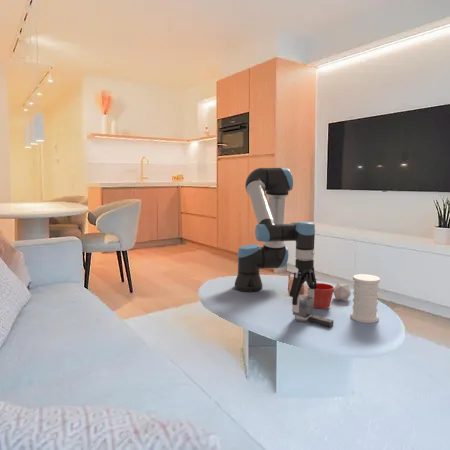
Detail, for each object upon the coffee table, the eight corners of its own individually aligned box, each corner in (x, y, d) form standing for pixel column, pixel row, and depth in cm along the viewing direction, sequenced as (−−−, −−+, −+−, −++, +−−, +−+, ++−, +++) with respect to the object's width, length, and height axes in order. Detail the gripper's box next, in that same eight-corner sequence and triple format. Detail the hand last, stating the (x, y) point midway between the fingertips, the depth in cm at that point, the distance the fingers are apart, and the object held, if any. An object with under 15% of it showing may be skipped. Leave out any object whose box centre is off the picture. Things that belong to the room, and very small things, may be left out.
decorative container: (376, 325, 160) (378, 282, 157) (347, 319, 165) (349, 278, 163) (380, 315, 170) (382, 275, 167) (353, 311, 175) (355, 272, 173)
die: (342, 305, 185) (354, 289, 185) (327, 293, 189) (339, 278, 189) (344, 305, 192) (356, 290, 192) (330, 294, 196) (341, 279, 196)
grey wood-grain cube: (292, 314, 165) (293, 298, 164) (299, 310, 170) (300, 294, 169) (306, 317, 161) (306, 301, 160) (313, 313, 166) (313, 297, 165)
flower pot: (317, 300, 189) (317, 281, 188) (337, 306, 182) (338, 286, 180) (304, 306, 182) (305, 285, 181) (325, 312, 174) (326, 291, 173)
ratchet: (291, 319, 165) (292, 305, 164) (299, 315, 171) (299, 301, 170) (328, 329, 155) (328, 314, 154) (335, 324, 160) (335, 309, 160)
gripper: (298, 265, 150) (297, 318, 153) (325, 254, 169) (324, 301, 172) (281, 262, 155) (280, 313, 158) (310, 252, 174) (308, 298, 177)
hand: (303, 307), depth 165 cm, fingers open, 13 cm apart
